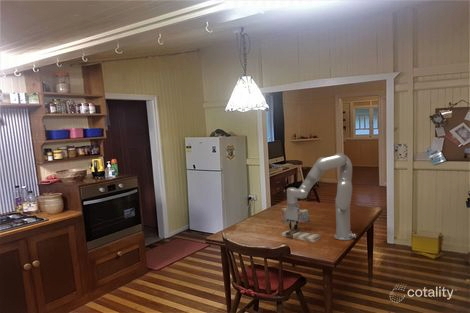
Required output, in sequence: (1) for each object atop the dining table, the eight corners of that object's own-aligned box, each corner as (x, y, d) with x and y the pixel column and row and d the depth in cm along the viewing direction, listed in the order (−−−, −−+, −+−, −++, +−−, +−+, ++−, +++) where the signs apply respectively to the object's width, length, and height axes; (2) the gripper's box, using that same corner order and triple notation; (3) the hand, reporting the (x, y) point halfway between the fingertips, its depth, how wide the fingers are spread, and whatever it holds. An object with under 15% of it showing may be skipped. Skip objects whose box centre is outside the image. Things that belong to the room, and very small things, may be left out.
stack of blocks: (305, 219, 282) (305, 205, 281) (309, 221, 276) (308, 207, 274) (282, 222, 278) (281, 208, 276) (284, 224, 271) (284, 209, 270)
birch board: (320, 237, 235) (320, 235, 235) (314, 242, 228) (314, 239, 227) (288, 232, 252) (288, 229, 252) (281, 235, 244) (281, 232, 244)
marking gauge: (301, 232, 247) (300, 219, 246) (291, 238, 237) (291, 223, 236) (295, 231, 250) (294, 218, 250) (285, 236, 240) (285, 222, 239)
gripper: (305, 204, 239) (306, 229, 241) (285, 202, 250) (286, 226, 251) (300, 206, 233) (301, 232, 235) (280, 204, 244) (281, 228, 246)
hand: (293, 228), depth 243 cm, fingers closed on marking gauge, 3 cm apart
